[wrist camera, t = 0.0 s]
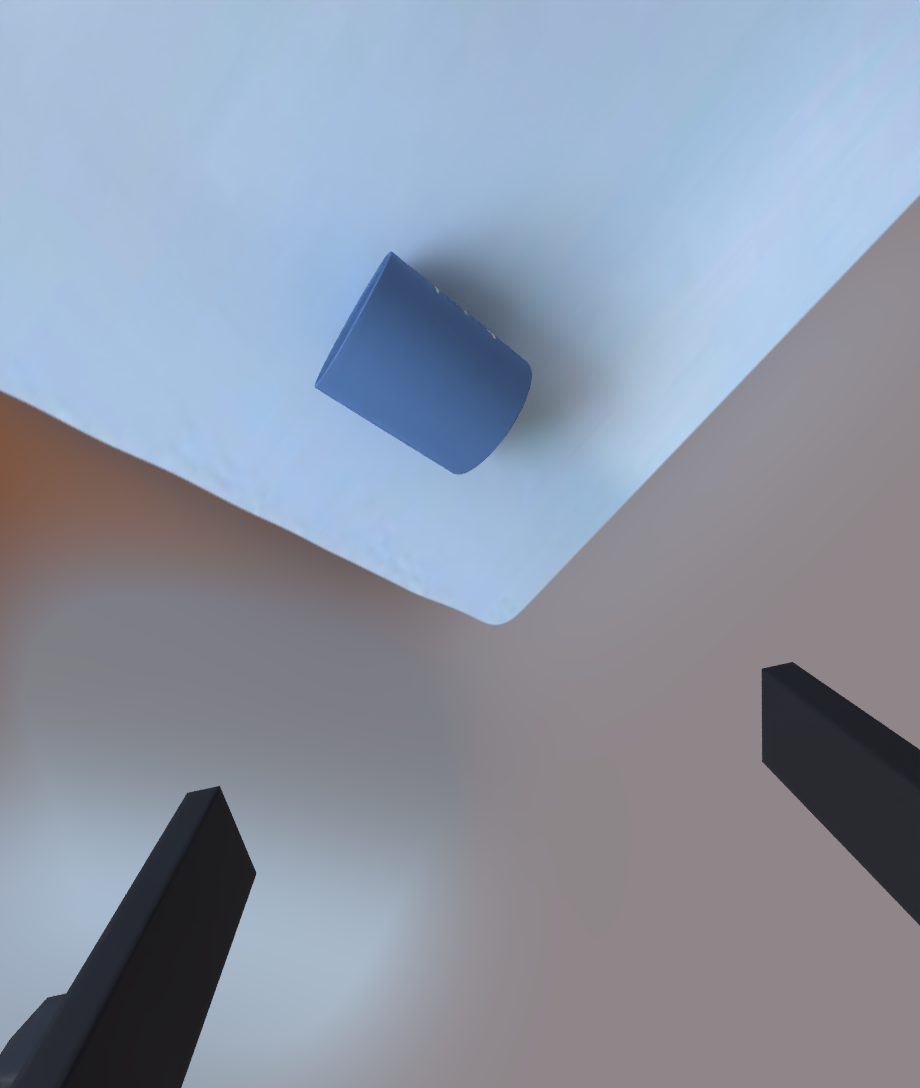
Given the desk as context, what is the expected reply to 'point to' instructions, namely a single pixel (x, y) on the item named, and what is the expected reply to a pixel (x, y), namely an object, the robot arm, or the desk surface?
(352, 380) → the measuring cup
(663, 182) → the desk surface
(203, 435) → the desk surface
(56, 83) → the desk surface
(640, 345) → the desk surface
